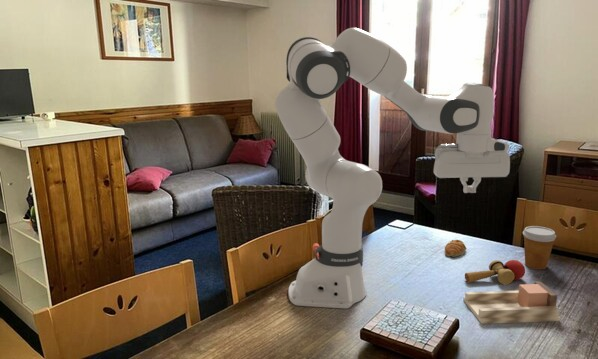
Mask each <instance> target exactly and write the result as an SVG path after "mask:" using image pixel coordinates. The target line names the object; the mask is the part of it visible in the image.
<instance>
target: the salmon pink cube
mask: <svg viewBox="0 0 598 359" xmlns="http://www.w3.org/2000/svg"><path fill="white" fill-rule="evenodd" d="M518 290H519V292H518V303H520V304H521V305H522V306H523V307H537V306H547V299H548V292H547V291H546V290H544V289H543V288H542V287H541V286H540V285H538V284H535V283H528V284H527V283H526V284H519V285H518Z"/></svg>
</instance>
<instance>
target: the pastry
mask: <svg viewBox="0 0 598 359" xmlns="http://www.w3.org/2000/svg"><path fill="white" fill-rule="evenodd" d="M466 251H467V246H466V245H465V243H464V242H463V241H462V240H460V239H452V240H451V241H449V242H448V243H447V244H446V245H445V246H444V254H445V256H447V257H455V258H457V257H459V256H462V255H463V254H464V253H465V252H466Z"/></svg>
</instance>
